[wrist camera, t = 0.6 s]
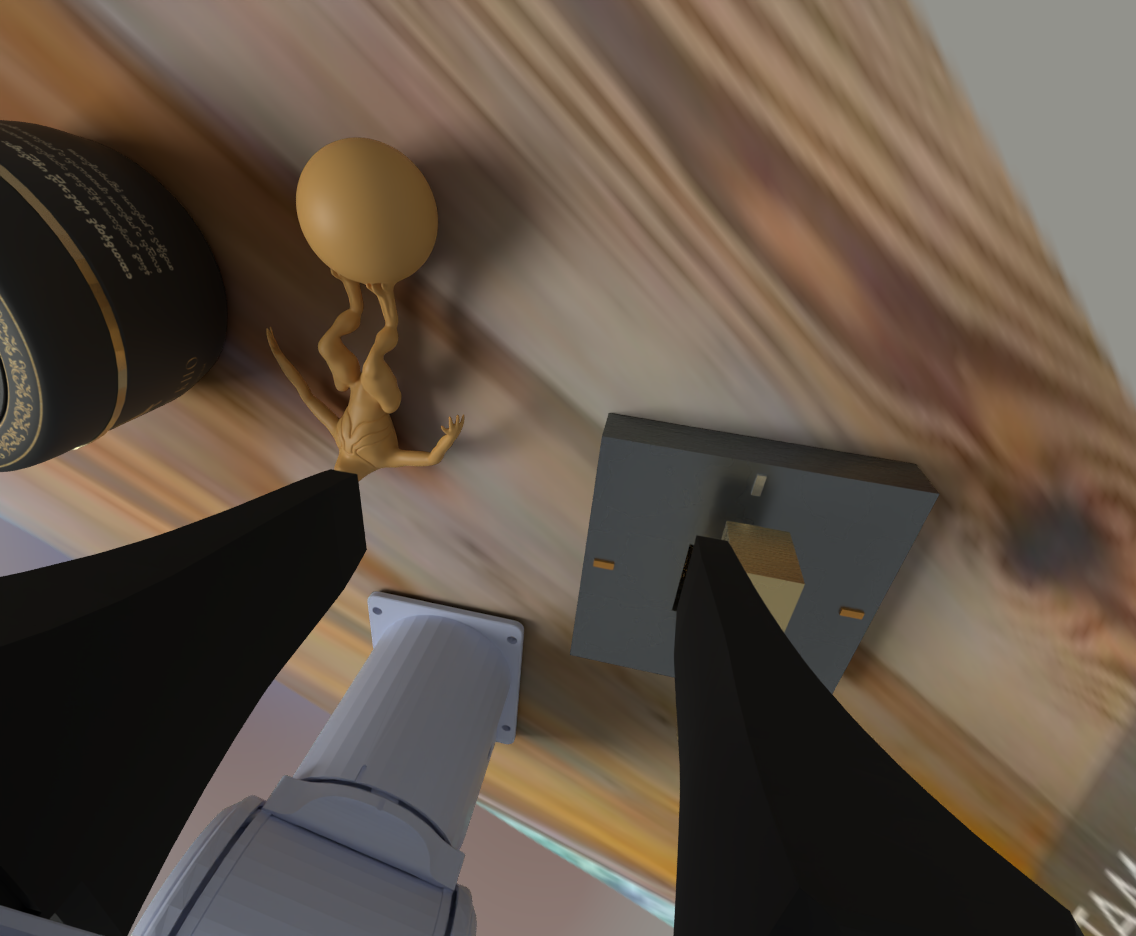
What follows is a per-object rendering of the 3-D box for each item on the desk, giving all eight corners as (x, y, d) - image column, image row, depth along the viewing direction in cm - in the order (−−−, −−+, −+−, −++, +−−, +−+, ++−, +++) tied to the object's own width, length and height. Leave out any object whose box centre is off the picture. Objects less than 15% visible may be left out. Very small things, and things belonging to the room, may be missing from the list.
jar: (164, 430, 25) (-22, 526, 18) (-35, 233, 22) (-345, 265, 15) (295, 312, 21) (115, 381, 14) (73, 48, 18) (-290, -19, 11)
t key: (726, 628, 24) (738, 753, 19) (673, 617, 25) (671, 738, 19) (779, 478, 20) (812, 585, 15) (715, 467, 21) (725, 568, 15)
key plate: (813, 671, 25) (824, 712, 23) (577, 622, 26) (569, 656, 24) (915, 464, 19) (940, 495, 17) (608, 413, 20) (601, 437, 18)
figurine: (480, 171, 13) (372, 574, 17) (555, 217, 19) (461, 513, 23) (209, 72, 14) (169, 467, 18) (355, 142, 20) (300, 434, 24)
